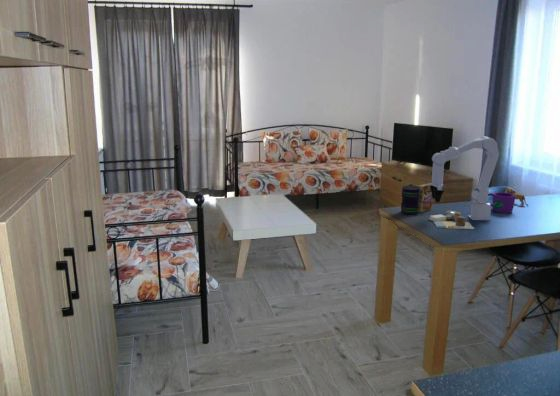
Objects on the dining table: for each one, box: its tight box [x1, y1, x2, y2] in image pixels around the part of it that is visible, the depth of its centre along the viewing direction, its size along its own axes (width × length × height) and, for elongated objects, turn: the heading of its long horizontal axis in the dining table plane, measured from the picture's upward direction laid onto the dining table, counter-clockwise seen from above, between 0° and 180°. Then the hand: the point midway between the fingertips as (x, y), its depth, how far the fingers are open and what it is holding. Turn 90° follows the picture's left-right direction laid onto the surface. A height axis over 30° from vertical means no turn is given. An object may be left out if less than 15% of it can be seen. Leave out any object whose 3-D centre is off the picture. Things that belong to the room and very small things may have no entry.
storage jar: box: [400, 185, 420, 217], centre depth 264 cm, size 10×10×15 cm
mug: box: [486, 191, 516, 214], centre depth 269 cm, size 17×11×10 cm, turn 35°
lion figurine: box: [504, 187, 529, 207], centre depth 283 cm, size 15×5×9 cm, turn 37°
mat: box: [432, 220, 475, 230], centre depth 243 cm, size 18×11×1 cm, turn 83°
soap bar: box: [429, 213, 447, 222], centre depth 253 cm, size 7×4×2 cm, turn 110°
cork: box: [453, 211, 462, 222], centre depth 250 cm, size 3×3×4 cm
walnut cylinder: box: [456, 215, 466, 226], centre depth 242 cm, size 4×4×4 cm
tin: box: [444, 210, 457, 221], centre depth 256 cm, size 6×6×4 cm
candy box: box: [417, 182, 433, 213], centre depth 270 cm, size 9×4×15 cm, turn 123°
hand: (435, 200), depth 255 cm, fingers open, 7 cm apart
